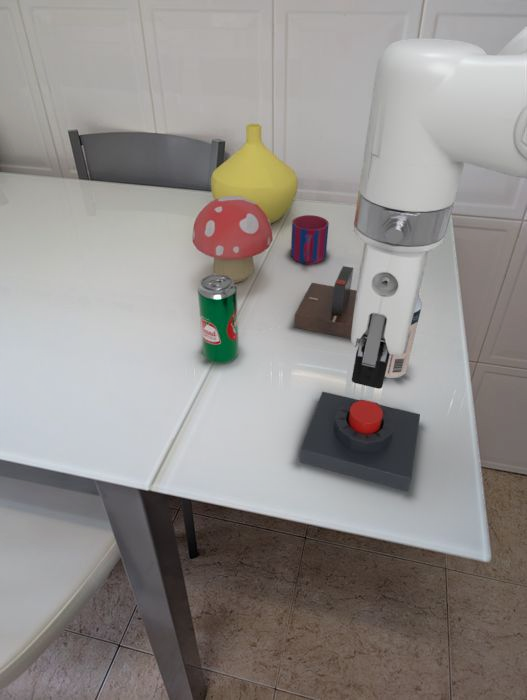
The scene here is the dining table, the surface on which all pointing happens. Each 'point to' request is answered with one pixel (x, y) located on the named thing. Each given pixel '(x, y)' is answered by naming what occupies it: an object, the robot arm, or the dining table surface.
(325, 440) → the button box
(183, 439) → the dining table surface
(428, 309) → the dining table surface
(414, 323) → the beer can
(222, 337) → the soda can
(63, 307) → the dining table surface
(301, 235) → the cup
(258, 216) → the decorative mushroom
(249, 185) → the vase
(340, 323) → the knob panel
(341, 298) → the dark upright slab
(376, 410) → the button
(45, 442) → the dining table surface
